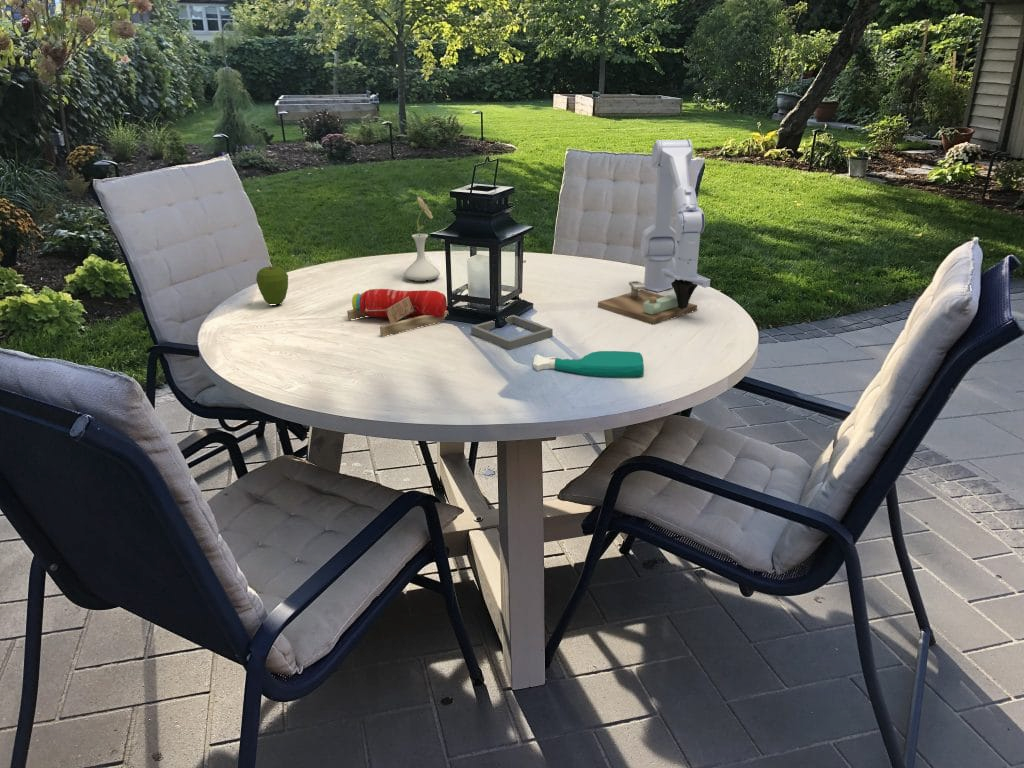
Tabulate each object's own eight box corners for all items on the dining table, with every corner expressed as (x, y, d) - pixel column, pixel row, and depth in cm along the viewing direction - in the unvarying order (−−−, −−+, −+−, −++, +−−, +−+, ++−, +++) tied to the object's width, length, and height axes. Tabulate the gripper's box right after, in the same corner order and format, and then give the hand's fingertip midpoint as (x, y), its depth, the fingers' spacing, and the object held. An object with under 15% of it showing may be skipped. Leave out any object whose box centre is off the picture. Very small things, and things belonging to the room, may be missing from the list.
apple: (267, 311, 213) (262, 270, 208) (254, 305, 219) (248, 265, 214) (296, 305, 218) (292, 265, 214) (283, 298, 224) (278, 259, 219)
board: (641, 294, 226) (642, 275, 223) (696, 310, 211) (698, 290, 209) (597, 307, 215) (598, 287, 213) (653, 324, 201) (655, 303, 199)
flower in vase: (438, 284, 237) (434, 201, 227) (401, 284, 237) (396, 201, 228) (442, 272, 249) (439, 194, 239) (407, 272, 249) (402, 194, 240)
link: (653, 315, 203) (653, 305, 202) (641, 311, 206) (642, 302, 205) (688, 304, 211) (688, 295, 210) (676, 300, 214) (677, 292, 213)
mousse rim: (513, 322, 203) (513, 314, 203) (552, 336, 193) (552, 329, 192) (471, 333, 195) (471, 326, 194) (509, 349, 185) (509, 341, 184)
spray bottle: (643, 380, 168) (531, 377, 171) (641, 362, 178) (535, 359, 181) (644, 367, 167) (531, 365, 170) (642, 350, 177) (535, 347, 180)
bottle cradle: (411, 304, 218) (410, 296, 217) (448, 320, 205) (448, 311, 204) (348, 319, 206) (347, 310, 205) (383, 337, 193) (382, 327, 192)
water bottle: (436, 304, 195) (341, 300, 199) (439, 332, 199) (346, 328, 203) (447, 283, 205) (356, 280, 209) (449, 310, 209) (361, 307, 213)
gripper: (655, 255, 204) (651, 304, 210) (700, 265, 194) (695, 317, 199) (672, 250, 208) (668, 299, 214) (717, 260, 198) (712, 311, 203)
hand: (682, 307), depth 207 cm, fingers closed
